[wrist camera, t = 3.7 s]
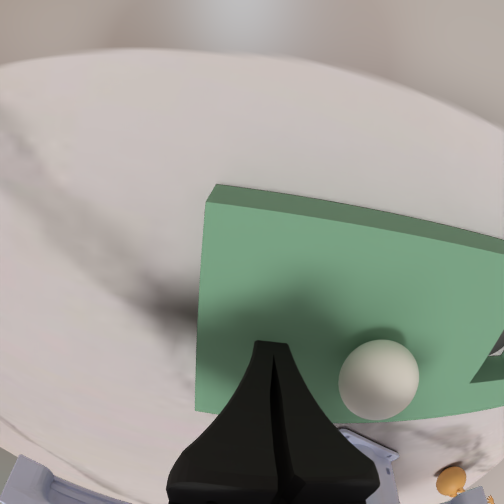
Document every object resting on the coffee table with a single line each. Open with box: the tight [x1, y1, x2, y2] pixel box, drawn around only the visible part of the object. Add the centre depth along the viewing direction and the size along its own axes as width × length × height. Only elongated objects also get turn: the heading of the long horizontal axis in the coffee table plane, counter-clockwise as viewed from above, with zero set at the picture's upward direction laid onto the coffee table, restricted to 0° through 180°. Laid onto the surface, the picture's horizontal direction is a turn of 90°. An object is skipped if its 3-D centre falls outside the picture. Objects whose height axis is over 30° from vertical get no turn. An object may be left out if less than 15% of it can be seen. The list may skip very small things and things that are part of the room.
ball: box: [338, 339, 419, 420], centre depth 12 cm, size 4×4×4 cm
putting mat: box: [195, 184, 504, 423], centre depth 15 cm, size 24×12×2 cm, turn 82°
